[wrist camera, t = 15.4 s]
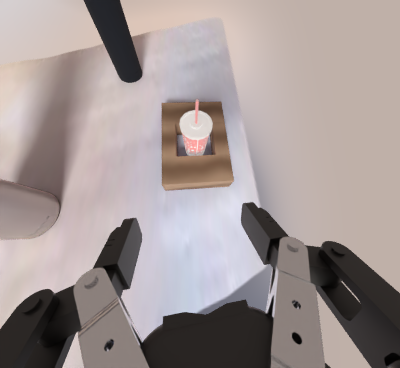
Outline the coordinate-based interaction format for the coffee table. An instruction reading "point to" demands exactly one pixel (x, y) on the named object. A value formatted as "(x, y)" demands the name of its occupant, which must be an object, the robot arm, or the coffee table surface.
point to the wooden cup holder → (194, 165)
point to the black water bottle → (116, 37)
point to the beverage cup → (195, 130)
